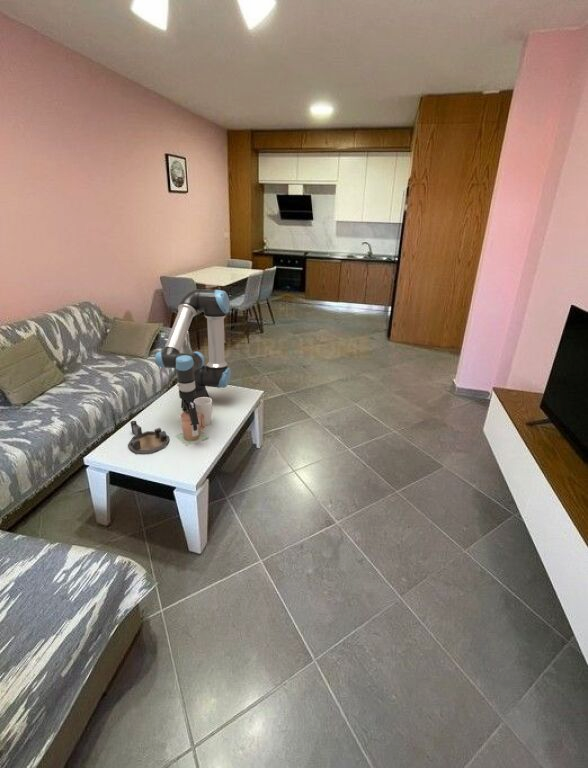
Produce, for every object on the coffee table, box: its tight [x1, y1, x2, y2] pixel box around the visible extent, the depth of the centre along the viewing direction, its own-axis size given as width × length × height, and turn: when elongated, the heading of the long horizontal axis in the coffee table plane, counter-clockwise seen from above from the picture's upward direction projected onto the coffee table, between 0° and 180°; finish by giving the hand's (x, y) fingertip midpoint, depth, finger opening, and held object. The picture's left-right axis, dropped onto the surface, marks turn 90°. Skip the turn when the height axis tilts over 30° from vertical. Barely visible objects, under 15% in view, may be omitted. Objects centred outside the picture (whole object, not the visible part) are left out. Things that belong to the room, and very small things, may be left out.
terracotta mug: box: [179, 411, 206, 441], centre depth 175 cm, size 9×11×12 cm
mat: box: [174, 430, 210, 447], centre depth 177 cm, size 12×12×1 cm
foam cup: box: [194, 397, 213, 427], centre depth 188 cm, size 10×9×13 cm
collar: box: [127, 420, 170, 454], centre depth 171 cm, size 24×17×6 cm
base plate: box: [128, 434, 170, 456], centre depth 171 cm, size 18×18×1 cm
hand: (191, 428), depth 175 cm, fingers open, 13 cm apart
